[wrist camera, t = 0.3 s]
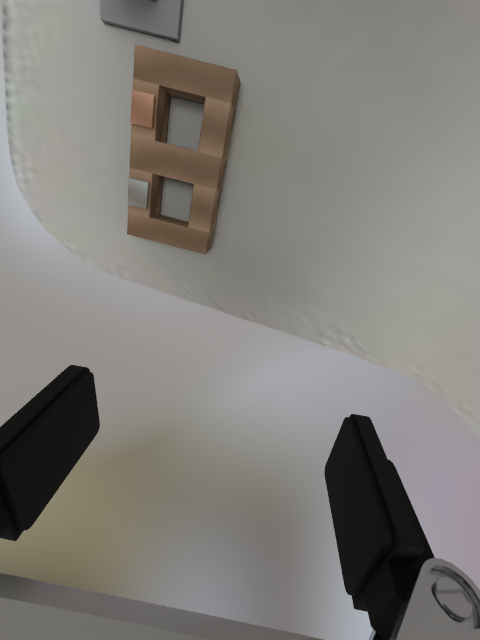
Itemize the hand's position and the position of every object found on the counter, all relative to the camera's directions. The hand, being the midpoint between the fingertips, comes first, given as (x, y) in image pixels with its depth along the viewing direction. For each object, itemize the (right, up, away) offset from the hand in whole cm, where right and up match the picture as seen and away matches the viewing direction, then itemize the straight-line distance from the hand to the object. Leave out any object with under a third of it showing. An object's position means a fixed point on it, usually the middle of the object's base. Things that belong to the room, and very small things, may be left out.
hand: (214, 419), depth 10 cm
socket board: (-6, +22, +23) cm, 33 cm away
